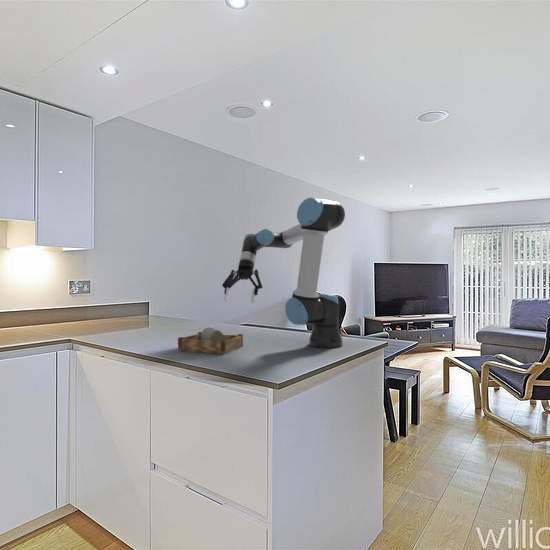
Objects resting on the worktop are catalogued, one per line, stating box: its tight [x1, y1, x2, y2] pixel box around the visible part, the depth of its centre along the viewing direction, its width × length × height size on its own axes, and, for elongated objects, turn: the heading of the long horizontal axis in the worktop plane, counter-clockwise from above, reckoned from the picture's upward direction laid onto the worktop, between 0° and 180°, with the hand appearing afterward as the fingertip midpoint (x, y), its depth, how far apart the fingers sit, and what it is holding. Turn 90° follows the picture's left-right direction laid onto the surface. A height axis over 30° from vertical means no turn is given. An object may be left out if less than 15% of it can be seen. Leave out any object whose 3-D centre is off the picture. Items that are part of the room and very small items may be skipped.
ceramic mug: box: [201, 326, 224, 341], centre depth 174 cm, size 11×8×8 cm
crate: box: [177, 331, 244, 355], centre depth 173 cm, size 22×18×6 cm
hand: (239, 300), depth 188 cm, fingers open, 13 cm apart
